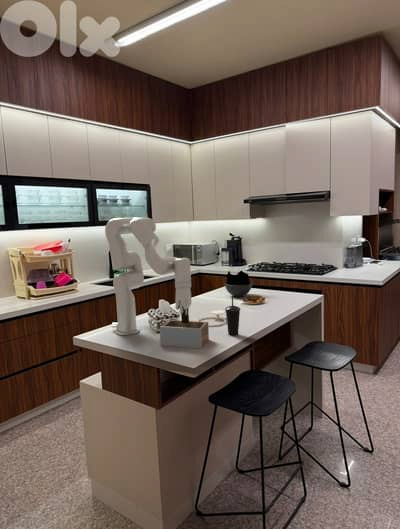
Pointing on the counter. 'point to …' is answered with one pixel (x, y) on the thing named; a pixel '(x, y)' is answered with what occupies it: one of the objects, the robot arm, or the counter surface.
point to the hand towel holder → (215, 317)
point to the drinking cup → (232, 319)
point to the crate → (191, 325)
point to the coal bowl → (238, 284)
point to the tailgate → (181, 337)
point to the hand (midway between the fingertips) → (185, 322)
